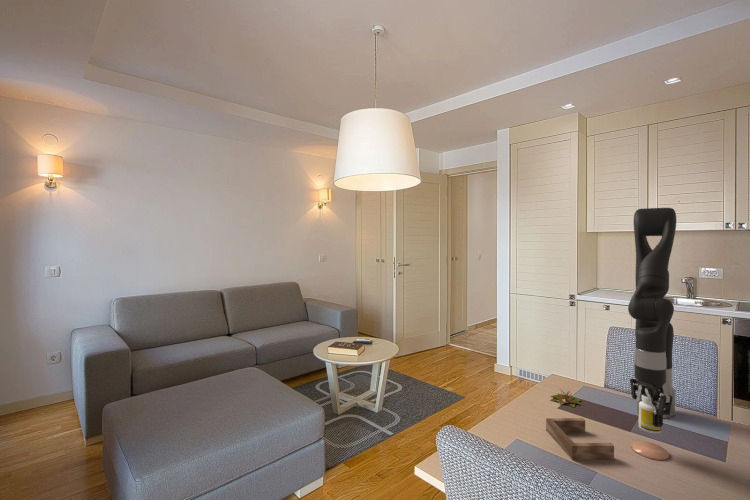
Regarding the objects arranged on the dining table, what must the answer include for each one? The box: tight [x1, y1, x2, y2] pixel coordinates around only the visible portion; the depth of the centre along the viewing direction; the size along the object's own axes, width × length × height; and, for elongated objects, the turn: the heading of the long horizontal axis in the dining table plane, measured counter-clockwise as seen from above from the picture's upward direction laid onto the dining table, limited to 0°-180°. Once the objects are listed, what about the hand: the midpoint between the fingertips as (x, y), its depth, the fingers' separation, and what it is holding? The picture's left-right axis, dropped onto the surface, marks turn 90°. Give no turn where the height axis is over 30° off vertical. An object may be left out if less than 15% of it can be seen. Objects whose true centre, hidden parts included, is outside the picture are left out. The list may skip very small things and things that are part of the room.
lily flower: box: [550, 388, 583, 408], centre depth 141 cm, size 12×12×5 cm
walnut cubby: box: [545, 417, 615, 461], centre depth 112 cm, size 12×16×4 cm
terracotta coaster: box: [630, 440, 670, 461], centre depth 107 cm, size 9×9×1 cm
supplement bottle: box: [637, 395, 662, 434], centre depth 107 cm, size 5×5×10 cm
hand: (649, 420), depth 107 cm, fingers closed on supplement bottle, 5 cm apart
